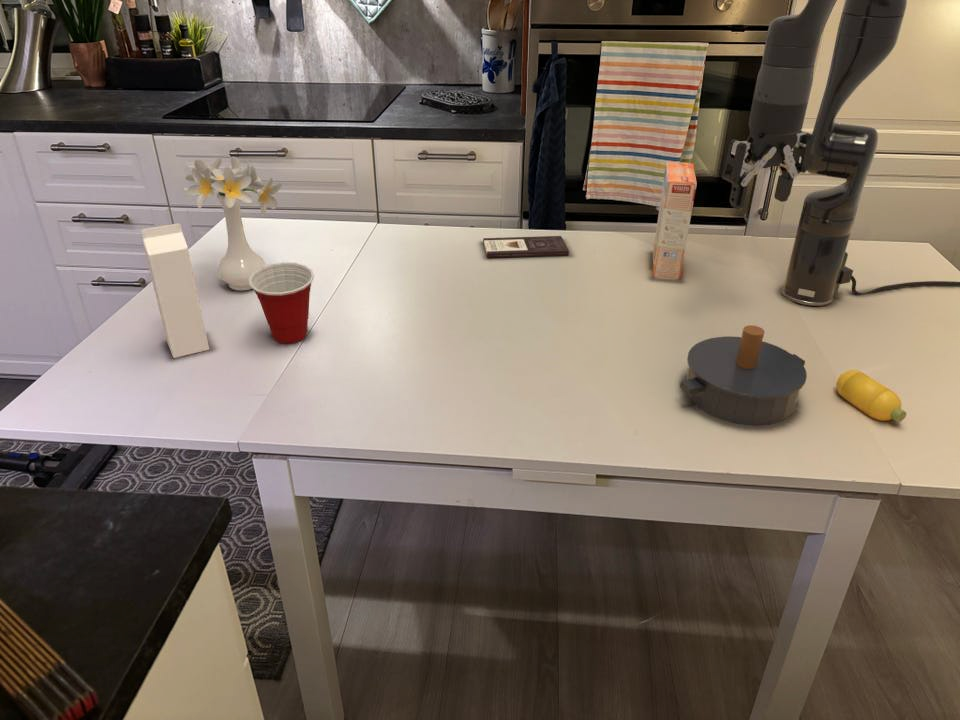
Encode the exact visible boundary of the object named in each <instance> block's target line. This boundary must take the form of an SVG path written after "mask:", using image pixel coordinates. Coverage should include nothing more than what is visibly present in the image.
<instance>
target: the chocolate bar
mask: <svg viewBox="0 0 960 720" xmlns="http://www.w3.org/2000/svg"><path fill="white" fill-rule="evenodd" d="M482 242H483V246H484V250H485V253H486V257H487V259H494V258H495V259H496V258H497V259H498V258H521V257H522V258H523V257H524V258H525V257H547V256H548V257H552V256H553V257H554V256H555V257H556V256H569V255H570V251H569V248H568V247H567V245H566V243H565V241H564V239H563V237H562V236H561V235H544V236H516V237H514V236H511V237H484V238H482Z"/></svg>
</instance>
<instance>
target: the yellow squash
mask: <svg viewBox="0 0 960 720" xmlns="http://www.w3.org/2000/svg"><path fill="white" fill-rule="evenodd" d="M836 390H837V392H838V394H839V396H841V397H842V399H844V400H845V401H847V402H849V404H851V405H853V406H854V407H856V408H857V409H858V410H860V411H861V412H863V413H864V414H866V415H867V416H869V417H870V418H873V420H877V421H882V422H883V421H884V422H886V421H890V420H894V421H895V422H897V423H901V422H902V421H903V420H905V419H906V417H907V412H906V411H905V410H904V409H902V401H901V399H900V396H899V395H898V394H897V393H896V392H894V391H893V390H892V389H891V388H889V387H887V386H886V385H884V384H882V383H881V382H879V381H877V380H876V379H874V377H873V378H872V377H871V376H869V375H868V374H867V373H865V372H863V371H861V370H857V369H849V370H846V371H844V372H843V373H841V374H840V375H839V376H838V378H837V381H836Z"/></svg>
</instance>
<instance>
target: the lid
mask: <svg viewBox="0 0 960 720" xmlns="http://www.w3.org/2000/svg"><path fill="white" fill-rule="evenodd" d="M764 336H765V330H764V329H763V328H762V327H760V326H758V325H751V324H750V325H744V327H743V328H742V332H741V336H716V337H715V336H714V337H710V338H706V339H704V340H701V341H699V342H697V343H695V344H694V345H693V346H692V347H691V348H690V349H689V351H688V353H687V358H686V359H687V365H688V366H689V368H690V369H691V371H692V372H693V373H694V375H696V376H697V377H698V378H699V379H700V380H702V381H703V382H704V383H706V384H708V385H709V386H711V387H713V388H716V389H718V390H720V391H723V392H726V393H729V394H732V395H736V396H741V397H746V398H755V399H774V398H781V397H786V396H789V395H792V394H794V393H796V392H797V391H799V390H800V391H801V389H802V388H803V387H804V386H805V384H806V382H807V377H808V375H807V374H808V373H807V369H806V367H805V365H804V366H803V364H802V363H801V362H800V361H799V360H798V359H797V358H796V357H795V356H793V354H792V353H790V352H789V351H787V350H786V349H784V348H781V347H780V346H777V345H774V344H772V343H769V342H766V341H764ZM800 391H799V392H800Z"/></svg>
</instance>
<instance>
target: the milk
mask: <svg viewBox="0 0 960 720" xmlns="http://www.w3.org/2000/svg"><path fill="white" fill-rule="evenodd" d="M140 232H141V237H142V246H143V250H144V254H145V259H146V263H147V266H148V270H149V274H150V278H151V282H152V286H153V290H154V294H155V298H156V302H157V307H158V311H159V315H160V319H161V323H162V327H163V331H164V334H165V340H166V343H167V345H168V348H169V351H170V353H171V355H172V358H174V359H176V358H180V357H184V356H188V355H194V354H198V353H200V352H206V351H209V350H210V346H209V341H208V337H207V332H206V326H205V321H204V317H203V312H202V307H201V304H200V299H199V294H198V290H197V284H196V279H195V276H194V270H193V266H192V261H191V256H190V251H189V247H188V245H187V241H186V239H185V235H184V233H183V229H182V225H181V223H173V224H167V225H160V226H155V227H148V228H143V229H141V231H140Z"/></svg>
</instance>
